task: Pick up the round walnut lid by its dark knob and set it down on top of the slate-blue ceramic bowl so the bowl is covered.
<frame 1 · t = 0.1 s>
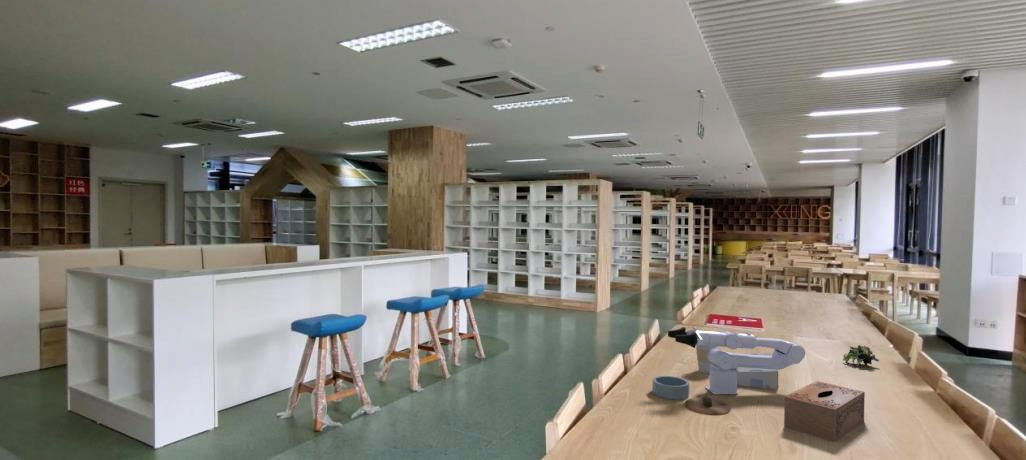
hand: (671, 336, 193), 22 cm above the table, tool horizontal, fingers open, 7 cm apart
coffee cup: (705, 371, 220), on the table
green leafy clump: (859, 366, 231), on the table
lid: (707, 407, 178), on the table
warehouse: (754, 378, 213), on the table
tissue box cover: (824, 425, 163), on the table
bowl: (670, 394, 191), on the table
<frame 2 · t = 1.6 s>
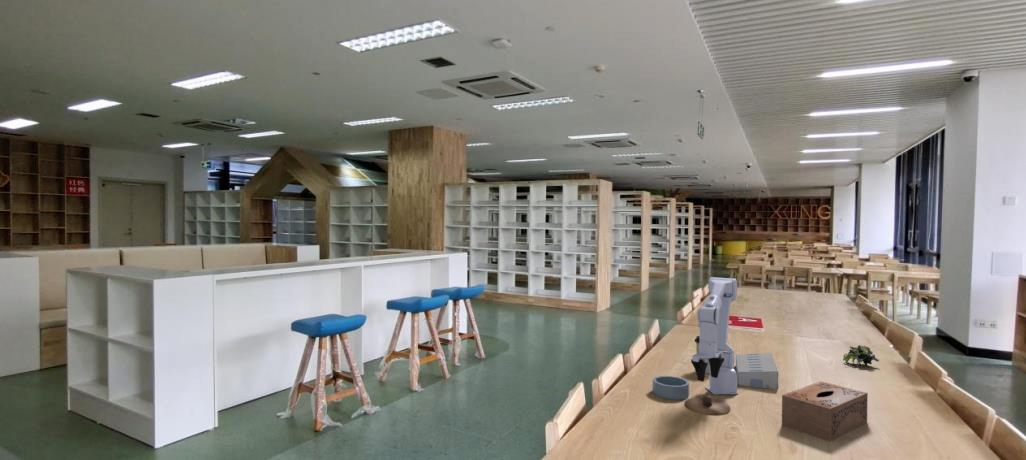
hand: (707, 379, 177), 10 cm above the table, tool pointing down, fingers open, 7 cm apart
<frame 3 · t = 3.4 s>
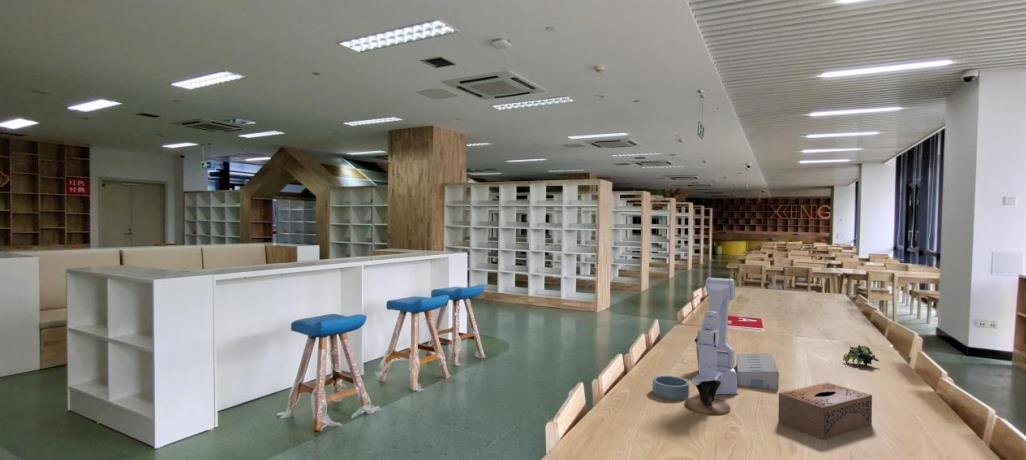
hand: (707, 401, 178), 2 cm above the table, tool pointing down, fingers closed on lid, 3 cm apart
lid: (707, 407, 178), on the table, touching gripper
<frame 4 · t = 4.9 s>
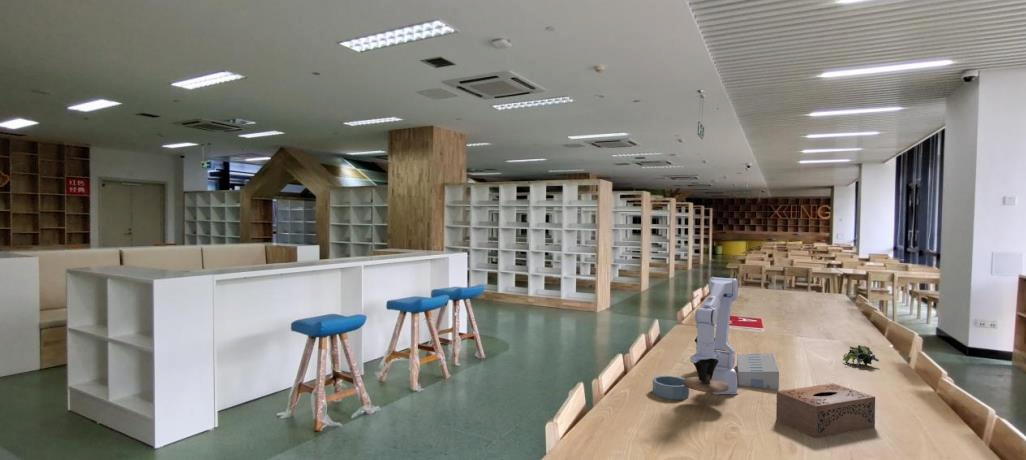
hand: (705, 379, 178), 9 cm above the table, tool pointing down, fingers closed on lid, 3 cm apart
lid: (705, 385, 178), point 7 cm above the table, touching gripper
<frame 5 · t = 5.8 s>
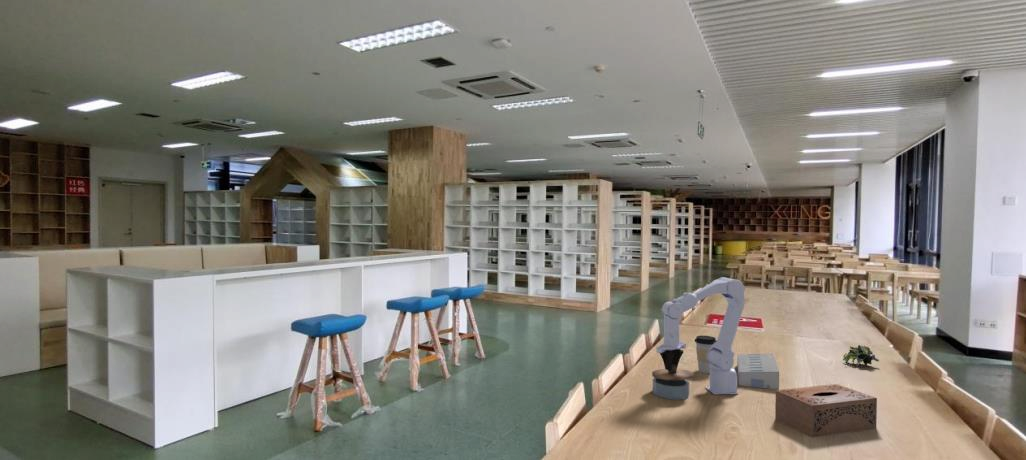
hand: (671, 369, 191), 9 cm above the table, tool pointing down, fingers closed on lid, 3 cm apart
lid: (672, 375, 190), point 7 cm above the table, tilted 6°, touching gripper
when the fingers open (8 cm above the table, at t = 6.4 s): lid drops 1 cm, resting on bowl.
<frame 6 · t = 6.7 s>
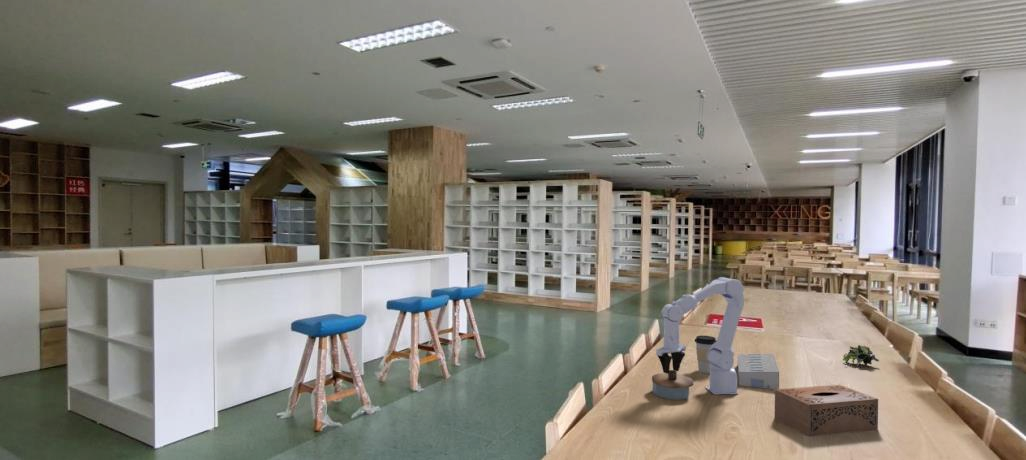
hand: (671, 371, 191), 8 cm above the table, tool pointing down, fingers open, 5 cm apart
lid: (672, 381, 190), point 5 cm above the table, touching bowl
bowl: (670, 394, 191), on the table, touching lid
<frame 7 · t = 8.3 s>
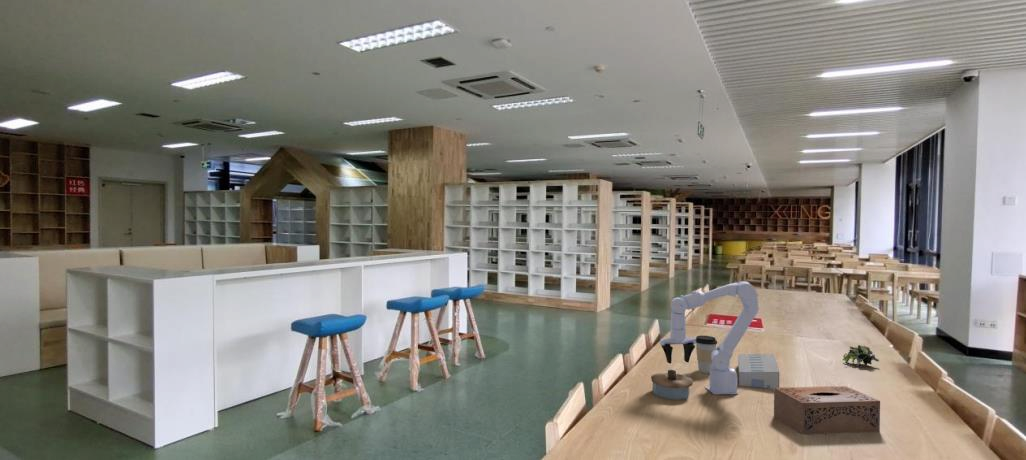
hand: (677, 362, 199), 10 cm above the table, tool pointing down, fingers open, 7 cm apart
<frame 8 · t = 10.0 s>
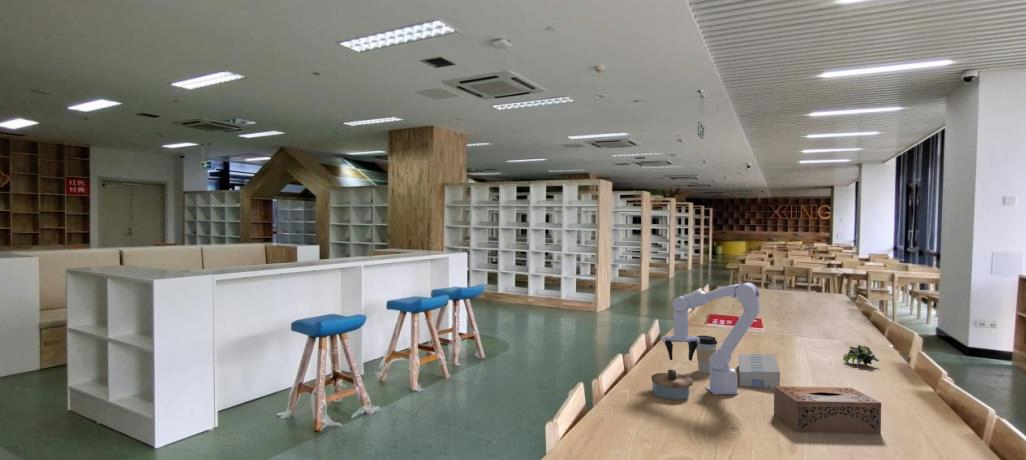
hand: (680, 359, 202), 10 cm above the table, tool pointing down, fingers open, 7 cm apart
at the end: lid 0.4 cm off-centre on the bowl, point 5.0 cm above the bowl's base; lid tilted 0°; the gripper is holding nothing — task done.
